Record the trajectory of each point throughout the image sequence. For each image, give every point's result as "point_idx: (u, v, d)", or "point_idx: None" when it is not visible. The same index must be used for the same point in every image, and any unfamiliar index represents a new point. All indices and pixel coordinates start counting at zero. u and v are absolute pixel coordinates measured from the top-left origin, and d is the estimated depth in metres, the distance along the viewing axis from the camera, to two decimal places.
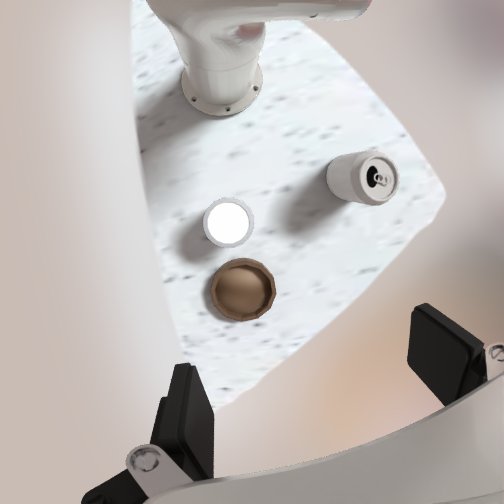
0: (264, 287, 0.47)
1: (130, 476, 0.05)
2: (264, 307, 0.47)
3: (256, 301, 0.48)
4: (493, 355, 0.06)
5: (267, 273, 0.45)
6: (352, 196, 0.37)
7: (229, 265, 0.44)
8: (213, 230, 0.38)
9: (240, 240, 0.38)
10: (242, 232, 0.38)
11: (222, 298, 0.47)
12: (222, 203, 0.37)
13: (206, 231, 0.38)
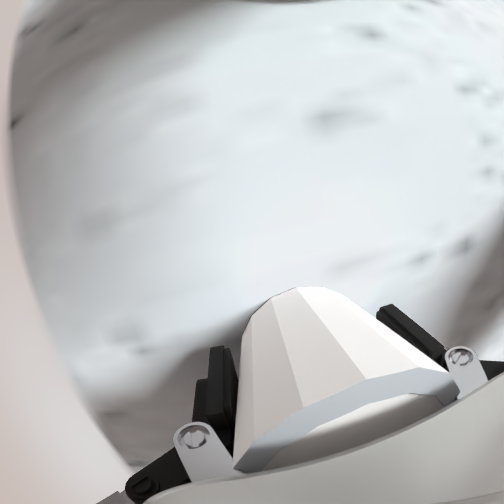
0: None
1: (176, 456, 0.06)
2: None
3: None
4: (454, 360, 0.07)
5: None
6: None
7: None
8: None
9: None
10: None
11: None
12: (354, 409, 0.05)
13: None
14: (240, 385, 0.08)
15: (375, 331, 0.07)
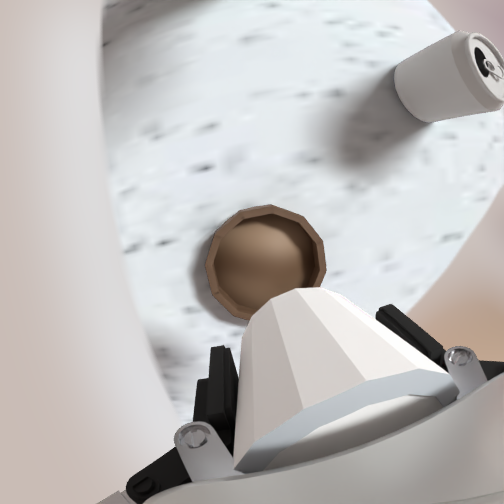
0: (303, 261, 0.26)
1: (177, 456, 0.06)
2: None
3: (288, 286, 0.26)
4: (453, 360, 0.07)
5: (312, 231, 0.24)
6: (454, 93, 0.16)
7: (241, 215, 0.23)
8: None
9: None
10: None
11: (227, 281, 0.26)
12: (354, 410, 0.05)
13: None
14: (240, 386, 0.08)
15: (375, 332, 0.07)
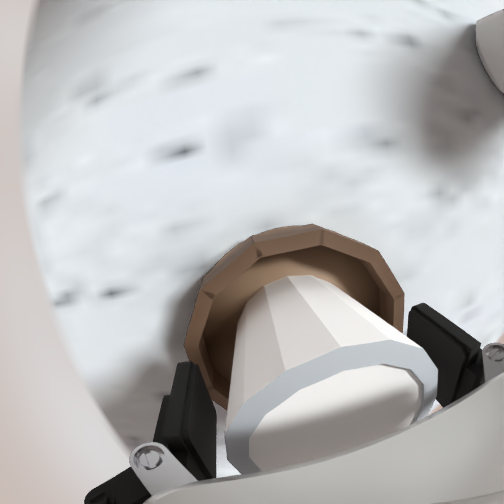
0: None
1: (133, 474, 0.06)
2: None
3: None
4: (490, 355, 0.06)
5: (389, 278, 0.12)
6: None
7: (256, 249, 0.11)
8: (272, 462, 0.07)
9: None
10: None
11: (227, 362, 0.14)
12: (331, 375, 0.06)
13: (241, 467, 0.07)
14: (234, 362, 0.09)
15: (355, 311, 0.08)
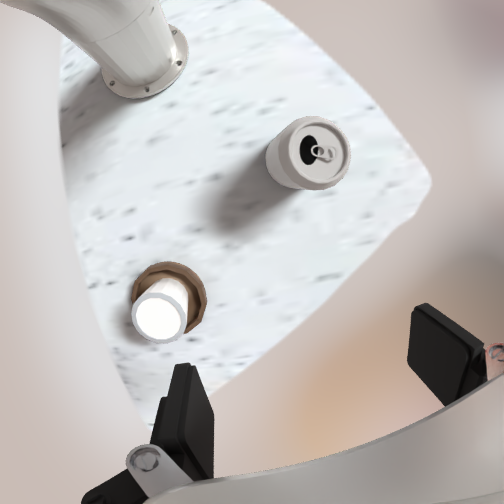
0: (194, 297, 0.39)
1: (130, 476, 0.05)
2: (194, 320, 0.38)
3: None
4: (493, 355, 0.06)
5: (193, 280, 0.37)
6: (286, 179, 0.28)
7: (148, 270, 0.36)
8: (143, 326, 0.32)
9: (173, 336, 0.32)
10: (174, 328, 0.32)
11: None
12: (148, 299, 0.31)
13: (136, 326, 0.32)
14: None
15: (163, 287, 0.33)
